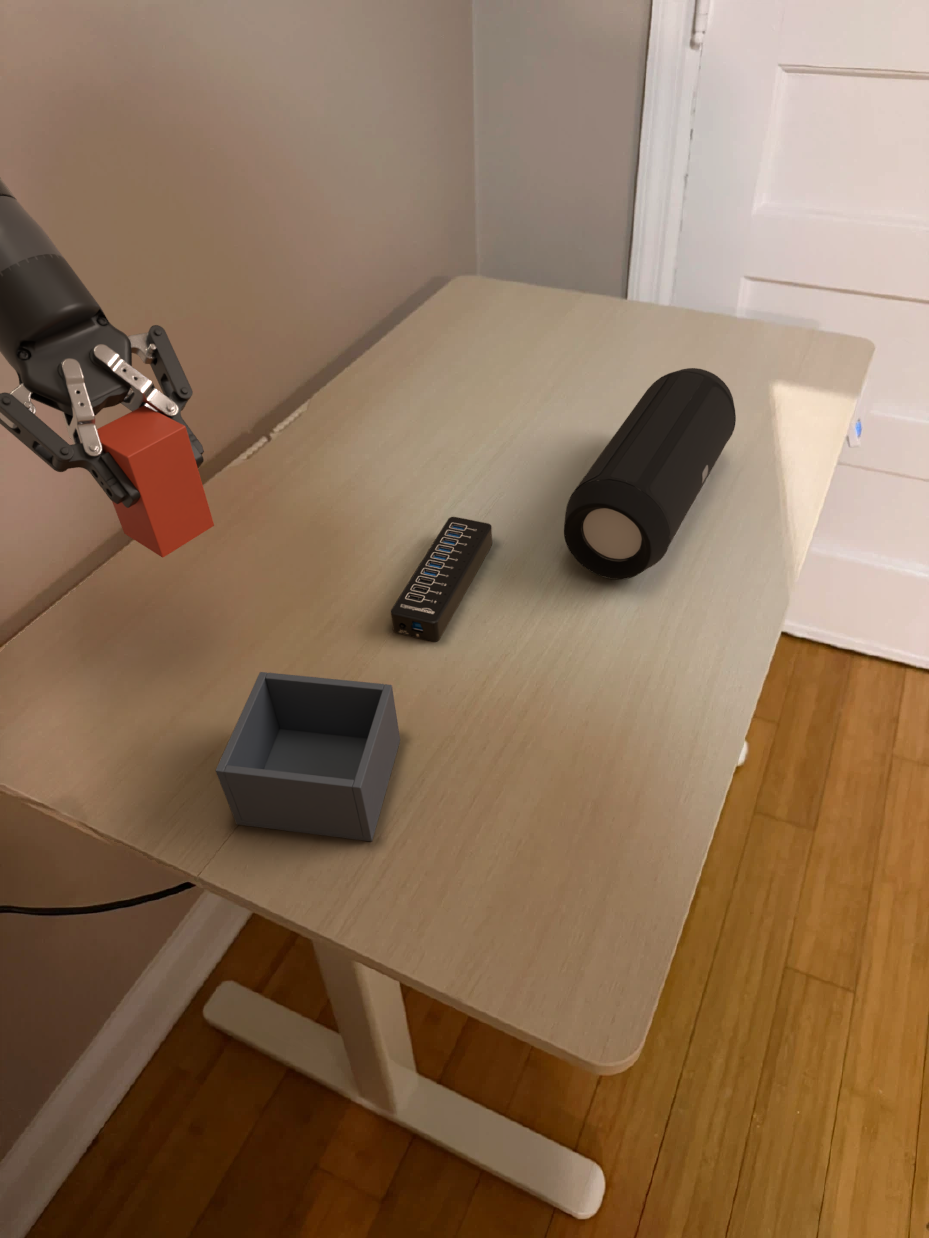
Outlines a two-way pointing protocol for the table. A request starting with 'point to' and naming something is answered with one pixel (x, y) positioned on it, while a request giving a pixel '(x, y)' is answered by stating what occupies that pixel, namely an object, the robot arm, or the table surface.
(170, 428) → the block
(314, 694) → the tub
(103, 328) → the robot arm
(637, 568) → the portable speaker
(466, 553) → the multiport hub
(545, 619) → the table surface
